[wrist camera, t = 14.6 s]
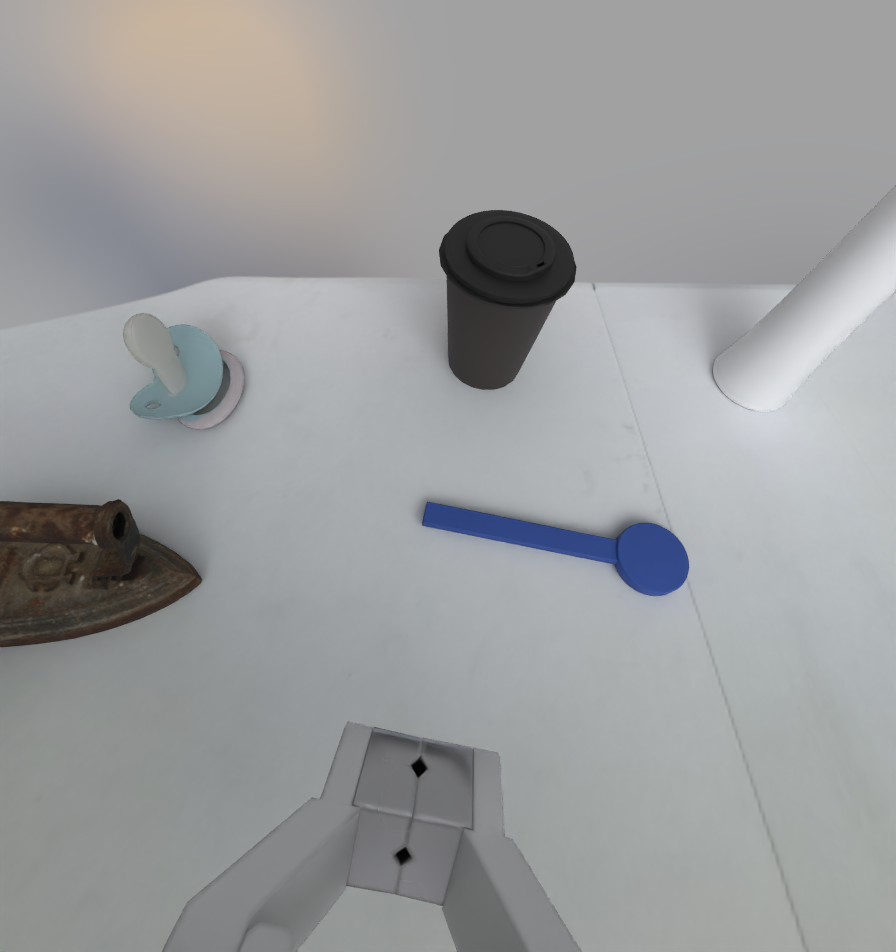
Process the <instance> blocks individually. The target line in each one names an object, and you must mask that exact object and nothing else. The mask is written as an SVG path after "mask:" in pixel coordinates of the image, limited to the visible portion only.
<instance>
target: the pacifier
mask: <svg viewBox="0 0 896 952" xmlns="http://www.w3.org/2000/svg"><path fill="white" fill-rule="evenodd" d="M123 336H124V341H125V344H126V347H127V349H128V350H129V352H130V353H131V354H132V356H133V357H134V358H135V359H136V360H138V361H139V362H140V363H142V364H143V365H145V366H147V367H150V368H152V370H153V373H154V375H155V380H154V382H152V383H150V384H149V385H147V386H146V387H144V388H143V389H142V390H141V391H139V392H138V393H137V394H136V395H135V396H134V397H133V399H132V401H131V403H130V409H131V410H132V412H133V413H134V414H135V415H137V416H139V417H143V418H148V419H169V418H176V417H177V418H178V419H179V421H180V422H181V423H182V424H184V425H185V426H187V427H189V428H194V429H207V428H209V427H212V426H215V425H217V424H218V423H220V422H221V421H223V420H224V419H225V418H226V417H227V416H228V415H229V414H230V413H231V412H232V411H233V410H234V408H235V407H236V405H237V404H238V402H239V400H240V397H241V395H242V392H243V386H244V371H243V368H242V366H241V363H240V362H239V361H238V359H237V358H236V357H235V356H233V355H232V354H230V353H228V352H225V351H221V350H219V349H218V347H217V345H216V343H215V342H214V341H213V339H212V338H211V337H210V336H208V335H207V334H206V333H204V332H203V331H202V330H200V329H198V328H196V327H193V326H190V325H175V326H172V327H169V328H166V327H165V326H164V324H163V323H162V322H161V321H160V320H159V319H157V318H156V317H154V316H153V315H150V314H147V313H141V314H136V315H134V316H132V317H131V318H130V319H129V320H128V321H127V322H126V324H125V327H124V332H123ZM174 347H175V348H178V349H179V355H178V356H177V355H176V353H175V350H174ZM223 365H224V366H225V367H227V368H228V369H229V371H230V384H229V388H228V391H227V393H226V395H225V397H224V398H223V400H222V401H221V402H220V403H219V405H218V406H217V407H216V408H214V409H213V410H211V411H210V412H208V413H205V414H202V415H193V414H192V413H194V412H196V411H198V410H200V409H202V408H203V407H205V406H206V405H207V404H208V403H209V402H210V401H211V400H212V399H213V398H214V397H215V395H216V394H217V392H218V390H219V388H220V385H221V382H222V378H223ZM154 403H159V404H161V405H160V406H159V407H157V408H152V409H151V408H147V406H148V405H150V404H154Z"/></svg>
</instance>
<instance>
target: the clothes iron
mask: <svg viewBox="0 0 896 952" xmlns="http://www.w3.org/2000/svg"><path fill="white" fill-rule="evenodd" d="M201 582H202V579H201V577H200V576H199V574H198V572H197V571H196V570H195V569H194V567H193V566H192V565H191V564H190V563H189V562H187V561H186V560H184V559H183V558H182V557H180V556H179V555H178V554H177V553H175V552H174V551H172V550H171V549H169V548H167V547H166V546H164V545H162V544H160V543H158V542H156V541H154V540H152V539H150V538H148V537H146V536H144V535H141V534H139V530H138V528H137V526H136V523H135V521H134V519H133V517H132V514H131V511H130V509H129V507H128V506H127V505H126V504H125V503H124V502H122V501H121V500H119V499H118V500H115V501H109V502H107V503H105V504H104V505H103V506H99V505H77V504H54V503H25V502H9V501H0V647H8V646H19V645H30V644H39V643H47V642H55V641H61V640H67V639H73V638H77V637H81V636H86V635H90V634H94V633H98V632H102V631H105V630H109V629H112V628H115V627H118V626H121V625H124V624H127V623H130V622H132V621H135V620H138V619H140V618H143V617H145V616H147V615H149V614H152V613H154V612H156V611H158V610H160V609H162V608H164V607H167V606H168V605H170V604H172V603H174V602H175V601H177V600H178V599H180V598H182V597H183V596H185V595H186V594H188V593H189V592H191V591H192V590H193V589H194V588H195V587H197V586H198V585H199V584H200V583H201Z"/></svg>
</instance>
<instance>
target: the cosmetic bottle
mask: <svg viewBox="0 0 896 952" xmlns="http://www.w3.org/2000/svg"><path fill="white" fill-rule="evenodd" d="M895 291H896V186H895V187H894V188H893V189H892V190H891V191H890V192H889V193H888V194H887V195H886V196H885V197H884V198H883V199H882V200H881V201H880V202H879V203H878V204H877V205H876V206H875V207H874V208H873V209H872V210H871V211H870V212H869V213H868V214H867V215H866V216H865V217H864V218H863V219H862V220H861V221H860V222H859V223H858V224H857V225H856V226H855V227H854V228H853V229H852V230H851V231H850V232H849V233H848V234H847V235H846V236H845V237H844V238H843V239H842V240H841V241H840V242H839V243H838V244H837V245H836V246H835V247H834V248H833V250H831V251H830V252H829V253H828V254H827V255H826V256H825V257H824V258H823V260H822V261H821V262H820V263H819V264H818V265H817V266H816V267H815V268H814V269H813V270H812V271H811V272H810V273H809V274H808V275H807V276H806V277H805V278H804V279H803V280H802V281H801V282H800V283H799V284H798V285H797V286H796V287H795V288H794V289H793V290H792V291H791V292H790V293H789V294H788V295H787V296H786V297H785V298H784V299H783V300H782V301H781V302H780V303H779V304H777V305H776V306H775V307H774V308H773V309H772V310H771V311H770V312H769V313H768V314H767V315H766V316H765V317H764V318H763V319H762V320H761V321H759V322H758V323H757V324H756V325H755V326H754V327H753V328H752V329H751V330H749V331H748V332H747V333H746V334H745V335H744V336H742V337H741V338H740V339H739V340H738V341H736V342H735V343H734V344H733V345H732V346H730V347H729V348H728V349H726V350H725V351H724V352H723V353H721V354H720V355H719V356H718V357H717V358H716V360H715V362H714V365H713V375H714V379H715V381H716V383H717V385H718V387H719V388H720V390H721V391H722V392H723V393H724V394H725V395H726V396H727V397H728V398H729V399H731V400H732V401H733V402H735V403H737V404H738V405H740V406H742V407H745V408H747V409H750V410H754V411H760V412H770V411H775V410H778V409H780V408H782V407H783V406H784V405H786V403H787V402H788V401H789V400H790V398H791V397H792V396H793V395H794V393H795V392H796V391H797V390H798V389H799V387H800V386H801V385H802V384H803V383H804V382H805V380H806V379H807V378H808V377H809V376H810V375H811V374H812V373H813V372H814V371H815V369H816V368H817V367H818V366H819V365H820V364H821V363H822V362H823V361H824V360H825V359H826V358H827V357H828V356H829V355H830V354H831V353H832V352H833V351H834V350H835V349H836V348H837V347H838V346H839V345H840V344H841V343H842V342H843V341H844V340H845V339H846V338H847V337H848V336H849V335H850V334H851V333H852V332H853V331H854V330H855V329H856V328H857V327H858V326H859V325H860V324H861V323H863V322H864V321H865V320H866V319H867V318H868V317H869V316H870V315H871V314H872V313H873V312H874V311H875V310H876V309H877V308H878V307H879V306H880V305H882V304H883V303H884V302H885V301H886V300H887V299H888V298H889V297H890V296H891V295H892V294H893V293H894V292H895Z"/></svg>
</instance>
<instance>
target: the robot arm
mask: <svg viewBox="0 0 896 952" xmlns="http://www.w3.org/2000/svg"><path fill="white" fill-rule="evenodd" d="M346 886H350V887H356V888H362V889H368V890H373V891H379V892H385V893H391V894H396V895H400V896H404V897H408V898H412V899H417V900H421V901H425V902H429V903H433V904H437V905H441V906H443V907H442V910H443V913H444V916H445V918H446V921H447V924H448V927H449V930H450V932H451V935H452V938H453V941H454V944H455V946H456V949H457V952H582V951H581V950H580V948H579V946H578V945H577V943H576V942H575V940H574V938H573V937H572V935H571V933H570V932H569V930H568V928H567V927H566V925H565V924H564V922H563V920H562V919H561V917H560V915H559V914H558V912H557V910H556V909H555V907H554V906H553V904H552V902H551V901H550V899H549V897H548V896H547V894H546V892H545V891H544V889H543V888H542V886H541V884H540V883H539V881H538V879H537V878H536V876H535V874H534V873H533V871H532V870H531V868H530V866H529V865H528V863H527V861H526V860H525V858H524V856H523V855H522V853H521V852H520V850H519V848H518V847H517V845H516V843H515V842H514V840H513V839H511V838H507V837H505V834H504V816H503V798H502V780H501V762H500V756H499V754H498V752H494V751H489V750H484V749H478V748H472V747H468V746H463V745H458V744H453V743H448V742H443V741H437V740H432V739H427V738H420V737H415V736H411V735H407V734H403V733H398V732H394V731H390V730H386V729H381V728H377V727H374V728H373V727H370V726H366V725H362V724H357V723H353V722H349V721H348V723H347V724H346V726H345V728H344V730H343V733H342V736H341V739H340V742H339V745H338V748H337V751H336V754H335V757H334V760H333V762H332V765H331V768H330V771H329V774H328V777H327V780H326V783H325V786H324V789H323V792H322V795H321V797H320V799H318V798H311V799H310V800H308V801H307V802H306V803H305V804H304V805H302V806H301V807H300V808H299V809H298V810H296V811H295V812H294V813H293V814H292V815H291V816H289V817H288V818H287V819H286V820H285V821H283V822H282V823H281V824H280V825H279V826H277V827H276V828H275V829H274V830H273V831H272V832H270V833H269V834H268V835H267V836H266V837H264V838H263V839H262V840H261V841H260V842H258V843H257V844H256V845H255V846H254V847H253V848H251V849H250V850H249V851H248V852H247V853H245V854H244V855H243V856H242V857H241V858H239V859H238V860H237V861H236V862H235V863H234V864H232V865H231V866H230V867H229V868H228V869H226V870H225V871H224V872H223V873H222V874H220V875H219V876H218V877H217V878H216V879H215V880H213V881H212V882H211V883H210V884H209V885H207V886H206V887H205V888H204V889H203V890H201V891H200V892H199V893H198V894H197V895H196V896H194V897H193V898H192V899H191V900H190V901H188V902H187V904H186V905H185V907H184V909H183V911H182V913H181V915H180V917H179V919H178V921H177V923H176V925H175V927H174V929H173V931H172V932H171V934H170V936H169V938H168V940H167V942H166V944H165V946H164V948H163V950H162V952H296V951H297V950H298V949H299V947H300V946H301V945H302V944H303V942H304V941H305V940H306V939H307V937H308V936H309V935H310V934H311V932H312V931H313V930H314V929H315V927H316V926H317V925H318V924H319V922H320V921H321V920H322V919H323V917H324V916H325V915H326V914H327V912H328V911H329V910H330V908H331V907H332V906H333V905H334V903H335V902H336V901H337V900H338V898H339V897H340V896H341V895H342V893H343V892H344V891H345V890H346Z"/></svg>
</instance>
